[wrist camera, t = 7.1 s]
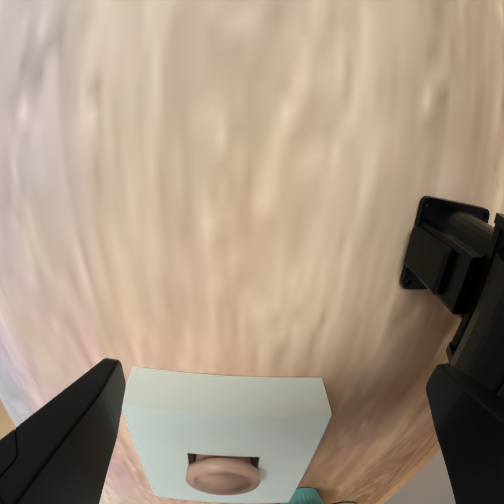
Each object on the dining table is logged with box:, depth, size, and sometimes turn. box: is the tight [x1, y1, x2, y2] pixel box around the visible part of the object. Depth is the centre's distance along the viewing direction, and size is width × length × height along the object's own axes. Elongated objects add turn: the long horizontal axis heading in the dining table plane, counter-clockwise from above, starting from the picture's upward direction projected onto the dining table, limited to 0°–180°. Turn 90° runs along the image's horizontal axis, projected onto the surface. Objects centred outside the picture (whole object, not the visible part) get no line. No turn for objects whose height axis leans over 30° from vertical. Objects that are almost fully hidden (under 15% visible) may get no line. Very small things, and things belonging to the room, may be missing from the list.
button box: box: [122, 366, 332, 503], centre depth 25 cm, size 15×18×4 cm
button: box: [186, 454, 260, 495], centre depth 24 cm, size 6×6×4 cm
